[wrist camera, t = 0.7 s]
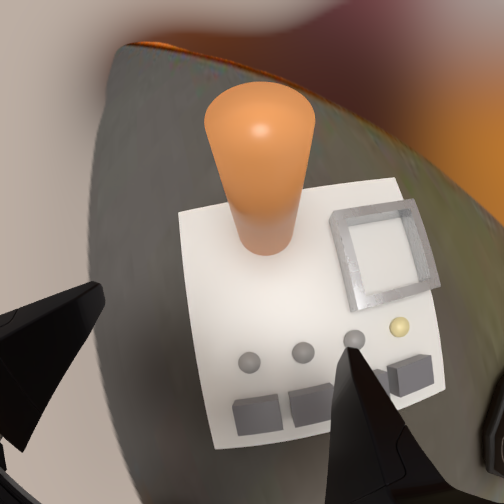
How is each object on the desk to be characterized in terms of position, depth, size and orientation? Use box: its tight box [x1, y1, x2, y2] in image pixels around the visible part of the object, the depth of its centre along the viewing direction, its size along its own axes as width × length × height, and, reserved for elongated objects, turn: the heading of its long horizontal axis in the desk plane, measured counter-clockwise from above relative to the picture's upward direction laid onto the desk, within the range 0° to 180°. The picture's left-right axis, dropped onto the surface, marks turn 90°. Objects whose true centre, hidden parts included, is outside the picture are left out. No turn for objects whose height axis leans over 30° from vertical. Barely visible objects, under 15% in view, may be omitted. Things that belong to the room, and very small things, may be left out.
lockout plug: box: [204, 82, 315, 256], centre depth 16 cm, size 4×4×13 cm
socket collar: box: [328, 199, 441, 312], centre depth 20 cm, size 8×8×2 cm
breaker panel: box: [178, 177, 445, 449], centre depth 20 cm, size 20×20×3 cm
